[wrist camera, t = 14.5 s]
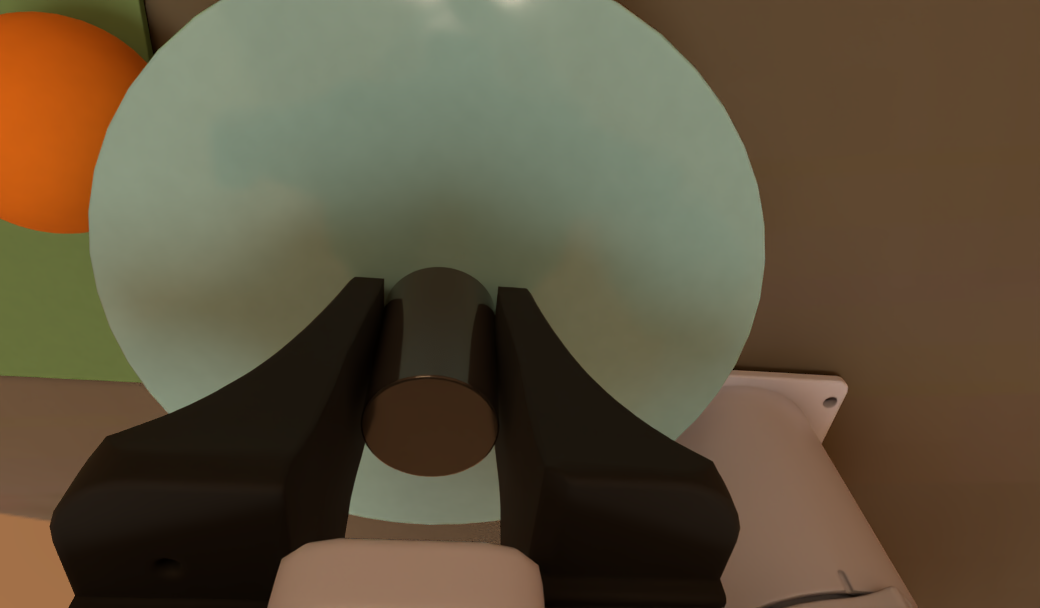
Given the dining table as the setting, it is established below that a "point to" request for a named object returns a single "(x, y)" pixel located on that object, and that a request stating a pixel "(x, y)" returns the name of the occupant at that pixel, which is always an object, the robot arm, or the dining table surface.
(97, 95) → the orange
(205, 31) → the lid
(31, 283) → the green flat l-shaped piece
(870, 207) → the dining table surface
